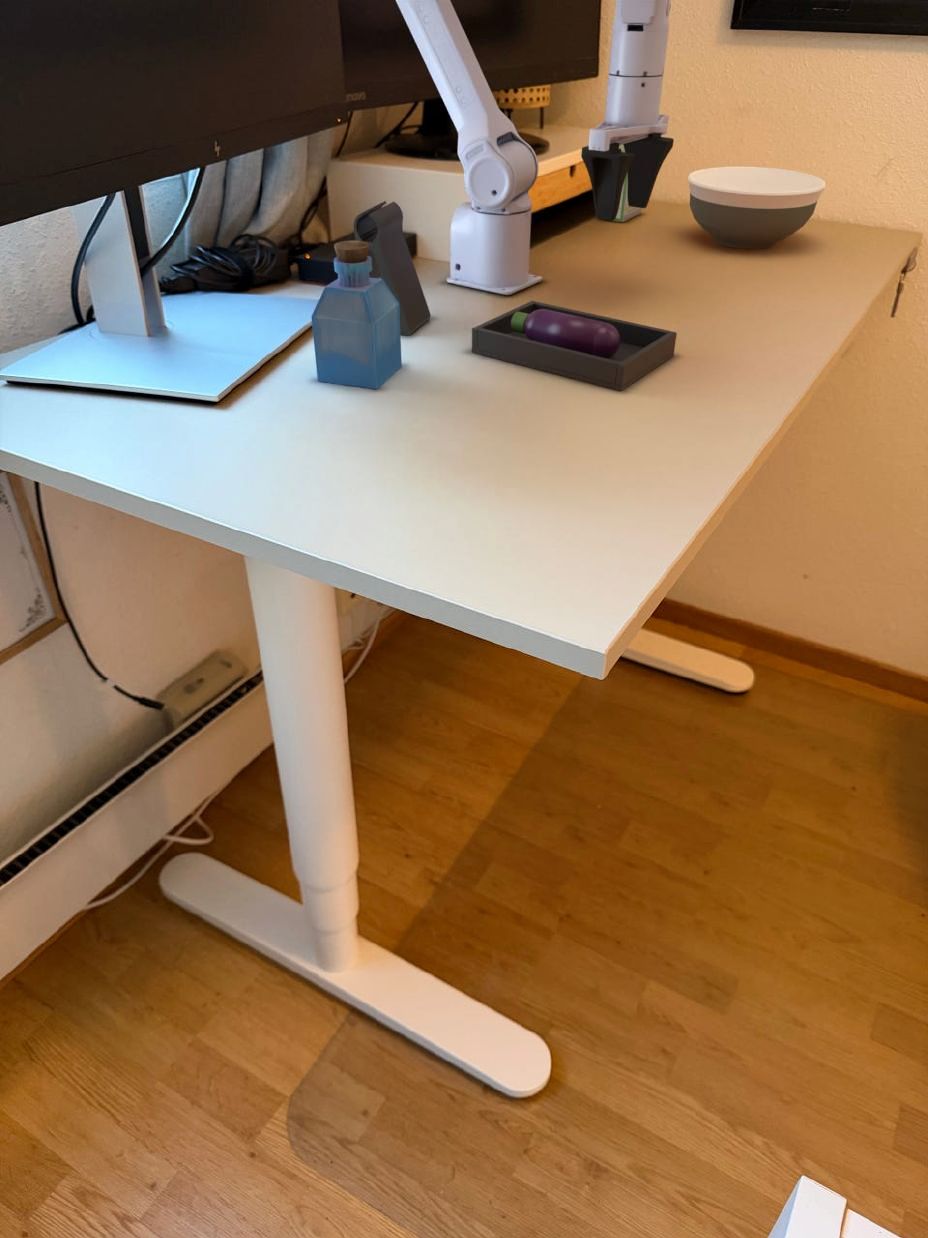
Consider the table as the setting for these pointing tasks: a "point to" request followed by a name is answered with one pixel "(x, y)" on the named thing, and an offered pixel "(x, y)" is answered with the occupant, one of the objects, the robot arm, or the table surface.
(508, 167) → the robot arm
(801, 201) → the bowl
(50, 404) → the table surface
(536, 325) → the eggplant
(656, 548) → the table surface
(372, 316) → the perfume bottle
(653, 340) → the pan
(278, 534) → the table surface
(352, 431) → the table surface
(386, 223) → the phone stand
